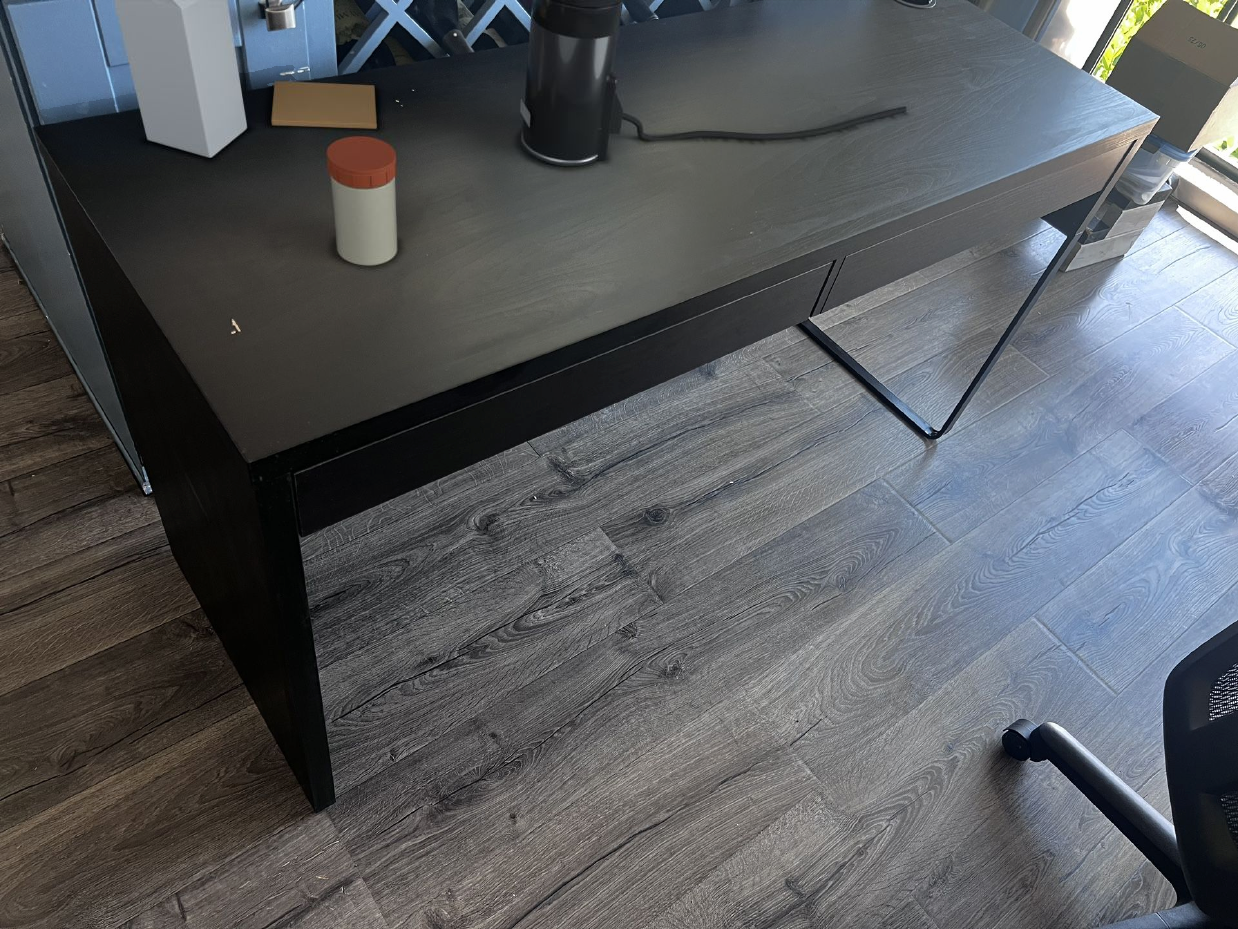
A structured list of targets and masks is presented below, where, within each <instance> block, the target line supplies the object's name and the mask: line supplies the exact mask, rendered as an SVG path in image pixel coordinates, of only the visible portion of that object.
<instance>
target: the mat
mask: <svg viewBox="0 0 1238 929" xmlns="http://www.w3.org/2000/svg"><path fill="white" fill-rule="evenodd" d="M375 91H376V90H375V85H372V84H371V85H370V84H350V83H349V84H348V83H330V82H329V83H328V82H327V83H326V82H306V81H305V82H304V81H303V82H302V81H280V80H275V81H274V86H273V98H272V99H273V100H272V111H271V126H283V127H311V128H312V127H313V128H317V127H318V128H343V129H344V128H345V129H372V130H375V129H377V126H378V125H377V124H378V123H377V109H376V108H377V106H376V92H375Z"/></svg>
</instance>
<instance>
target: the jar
mask: <svg viewBox="0 0 1238 929" xmlns="http://www.w3.org/2000/svg"><path fill="white" fill-rule="evenodd" d="M329 177H330V188H331V200H332V210H333V221H334V222H333V223H334V232H335V233H334V234H335V245H336V251H337V254H339V256H340V257H341V258H342V259H344V260H345V261H346V262H349V263H351V264H355V265H359V266H376V265H377V266H378V265H381V264H384V263H387V262H389V261H390V260H393V258H394V257H395V256H396V255H397V252H398V223H397V222H398V221H397V217H398V216H397V191H396V190H397V189H396V176H395V177H394V178H393V180H391V181H390V182H389V183H387V184H385V185H383V186H379V187H374V188H355V187H350V186H346V185H343V184H341V183H339V182H337V181H336V180H334V179H333V178H332V177H331V175H330V174H329Z"/></svg>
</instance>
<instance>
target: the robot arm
mask: <svg viewBox="0 0 1238 929" xmlns="http://www.w3.org/2000/svg"><path fill="white" fill-rule="evenodd" d="M623 5H624V0H531V12H530V22H529V23H530V24H529V37H528V38H529V39H528V50H527V65H526V77H525V93H524V101H523V100H522V98H520V106H519V107H520V108H519V112H520V114H521V115H522V117H523V119H522V126H521V127H522V131H521V134H520V135H521V136H520V143H521V147H522V148H523V149H524V151H526V152H527V153H528V154H529V155H530V156H531V157H533V158H535V159H537V160H539V161H541V162H544V163H547V164H551V165H553V166H554V165H555V166H560V167H580V166H585V165H589V164H591V163H594V162H596V161H605V160H607V154H608V147H609V140H610V135H620V134H621V128H622V121H623V120H624V121H626V122H628V123H631V124H632V125H634V126H635V127H636V133H637V136H638V137H639V138H640V139H641V140H643V141H646V142H664V141H680V140H686V139H693V138H724V139H738V140H750V141H751V140H752V141H753V140H754V141H756V140H757V141H764V140H765V141H767V140H768V141H769V140H770V141H771V140H772V141H773V140H788V139H798V138H805V137H806V138H807V137H812V136H817V135H825V134H828V133H833V132H837V131H840V130H844V129H846V128H850V127H854V126H856V125H859V124H864V123H868V122H871V121H876V120H879V119H883V118H887V117H891V116H894V115H899V114H903V113H905V112H906V111H907V110H908V109H907V107H906V106H900V107H896V108H892V109H888V110H883V111H880V112H876V113H872V114H868V115H863V116H861V117H858V118H854V119H850V120H848V121H844V122H841V123H837V124H833V125H830V126H825V127H820V128H814V129H807V130H801V131H791V132H776V133H775V132H774V133H772V132H771V133H751V132H750V133H749V132H736V131H723V130H722V131H721V130H693V131H686V132H681V133H676V134H670V135H663V136H656V135H655V136H654V135H651V134H650V135H649V134H647V133H645V132H644V127H643V124H642V122H641V121H640V120H639V119H638V118H636V117H635V116H633V115H631V114H629V113H626V112H624V109H623V107H622V105H621V104H622V103H621V102H620V99H619V97H618V95H617V93H616V92H617V85H618V77H617V74H616V72H615V70H614V68H615V61H616V55H617V53H616V52H617V47H618V40H619V34H620V26H621V20H622V19H621V18H622V12H623Z"/></svg>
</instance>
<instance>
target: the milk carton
mask: <svg viewBox="0 0 1238 929" xmlns="http://www.w3.org/2000/svg"><path fill="white" fill-rule="evenodd" d="M228 2H229V1H228V0H113V3H114V8H115V11H116V15H117V19H118V22H119V23H118V24H119V27H120V32H121V35H122V40H123V44H124V48H125V52H126V58H127V60H128V66H129V70H130V74H131V77H132V81H133V86H134V90H135V94H136V97H137V104H138V107H139V112H140V116H141V120H142V123H143V128H144V132H145V135H146V139H147V141H149V142H154V143H157V144H159V145H163V146H167V147H171V148H175V149H178V150H181V151H185V152H187V153H191V154H195V155H198V156H202V157H206V158H213V157H214V156H216V155H217V154H218V153H219V152H221V151H222V149H225V147H226V146H228V145H229V144H231V142H232V141H234V140H235V139H237V137H239V136H240V135H241V134H243V133H244V132H245V131H246V130H247V129H248V124H247V119H246V118H247V117H246V111H245V105H244V99H243V93H242V87H241V80H240V74H239V65H238V60H237V55H236V53H237V52H236V47H235V42H234V35H233V29H232V21H231V15H230V9H229V3H228Z"/></svg>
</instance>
